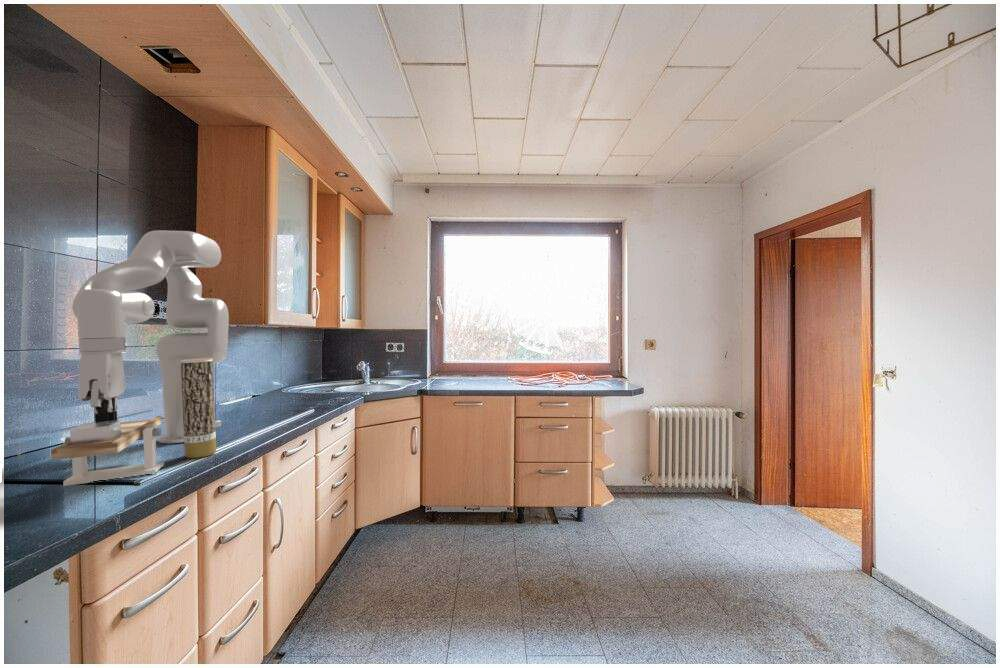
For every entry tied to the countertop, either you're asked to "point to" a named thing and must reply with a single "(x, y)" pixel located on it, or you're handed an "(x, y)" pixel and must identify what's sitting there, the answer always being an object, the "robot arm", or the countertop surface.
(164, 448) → the countertop surface
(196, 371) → the bark textured cylinder
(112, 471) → the pivot stand
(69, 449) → the balance beam
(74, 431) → the steel block
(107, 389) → the robot arm
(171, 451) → the countertop surface
